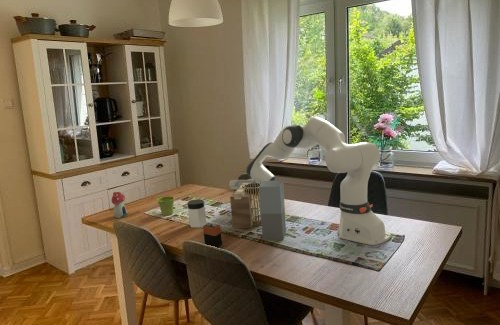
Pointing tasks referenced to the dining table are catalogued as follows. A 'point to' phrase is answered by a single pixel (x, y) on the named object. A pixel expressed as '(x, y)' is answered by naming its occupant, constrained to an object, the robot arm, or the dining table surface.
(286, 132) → the robot arm
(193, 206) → the jar
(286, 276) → the dining table surface
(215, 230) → the battery
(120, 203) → the decorative ornament
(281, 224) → the boxes
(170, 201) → the plant pot
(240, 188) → the bar
